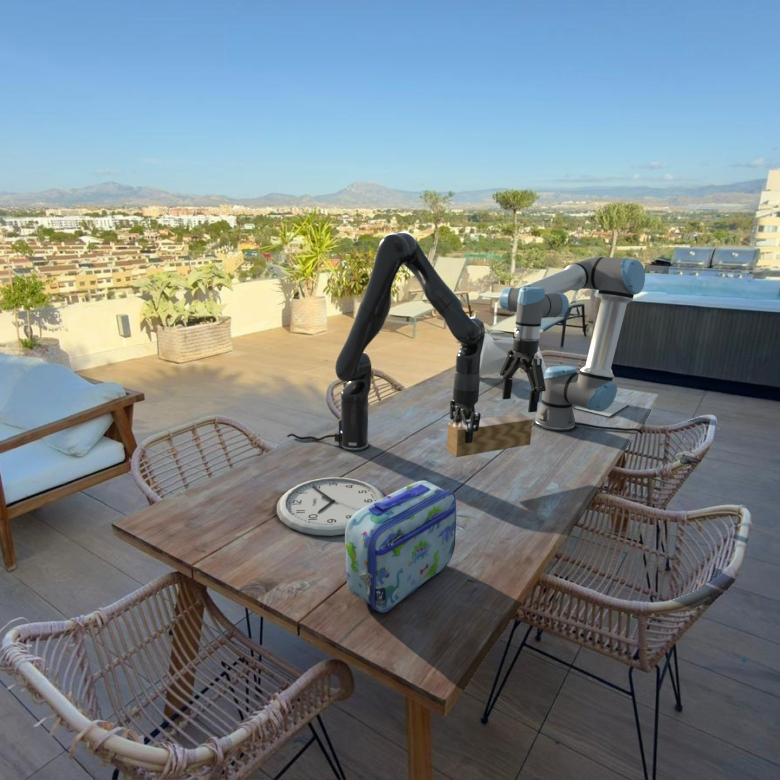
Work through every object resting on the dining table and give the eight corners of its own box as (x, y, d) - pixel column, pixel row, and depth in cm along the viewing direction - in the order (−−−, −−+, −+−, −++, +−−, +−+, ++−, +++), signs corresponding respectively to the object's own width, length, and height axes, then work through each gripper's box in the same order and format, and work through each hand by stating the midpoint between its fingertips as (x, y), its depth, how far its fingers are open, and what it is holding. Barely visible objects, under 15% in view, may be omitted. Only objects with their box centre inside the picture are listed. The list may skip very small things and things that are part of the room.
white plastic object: (486, 418, 267) (465, 395, 242) (467, 346, 289) (447, 318, 264) (556, 394, 255) (543, 367, 230) (531, 321, 277) (516, 289, 252)
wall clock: (392, 527, 129) (268, 531, 127) (391, 533, 130) (269, 537, 127) (383, 473, 158) (282, 475, 155) (383, 478, 158) (282, 480, 156)
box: (518, 437, 172) (521, 413, 169) (530, 444, 166) (532, 419, 164) (446, 449, 161) (448, 423, 159) (456, 457, 156) (458, 430, 154)
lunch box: (374, 626, 100) (375, 530, 93) (338, 598, 107) (337, 508, 101) (459, 568, 117) (465, 484, 111) (424, 547, 124) (427, 467, 118)
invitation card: (608, 416, 214) (573, 407, 224) (608, 416, 214) (573, 408, 224) (628, 404, 229) (594, 396, 238) (628, 405, 229) (594, 397, 238)
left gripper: (443, 380, 159) (440, 432, 164) (468, 394, 146) (464, 449, 151) (464, 378, 162) (461, 428, 167) (490, 391, 149) (486, 446, 154)
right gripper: (493, 331, 168) (487, 394, 174) (542, 347, 147) (534, 419, 153) (512, 331, 171) (505, 393, 177) (564, 346, 149) (554, 416, 155)
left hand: (462, 438), depth 159 cm, fingers closed on box, 6 cm apart
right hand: (518, 405), depth 165 cm, fingers open, 13 cm apart
